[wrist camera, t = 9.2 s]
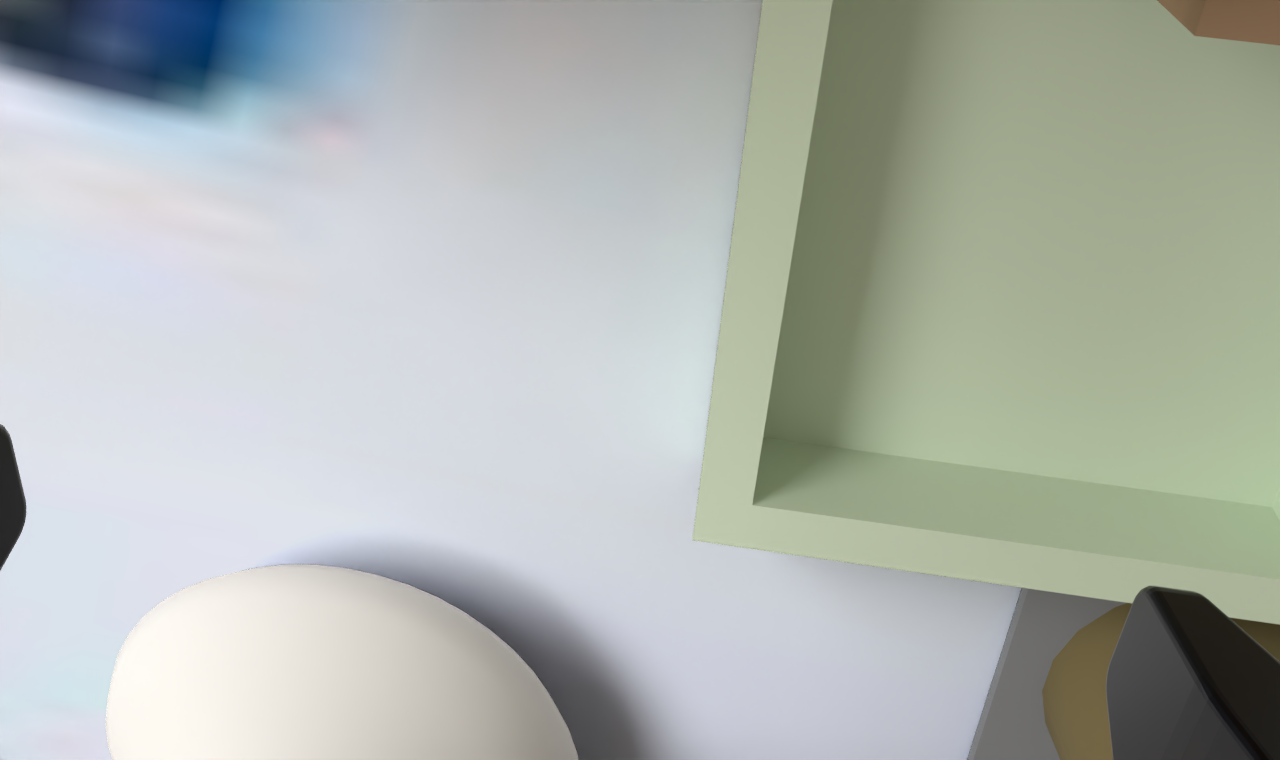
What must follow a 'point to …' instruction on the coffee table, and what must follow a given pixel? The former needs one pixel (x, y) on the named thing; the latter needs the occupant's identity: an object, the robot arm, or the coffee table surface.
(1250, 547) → the tray
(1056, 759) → the pad
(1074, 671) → the cork
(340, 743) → the flower in vase
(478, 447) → the coffee table surface
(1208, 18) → the walnut block
